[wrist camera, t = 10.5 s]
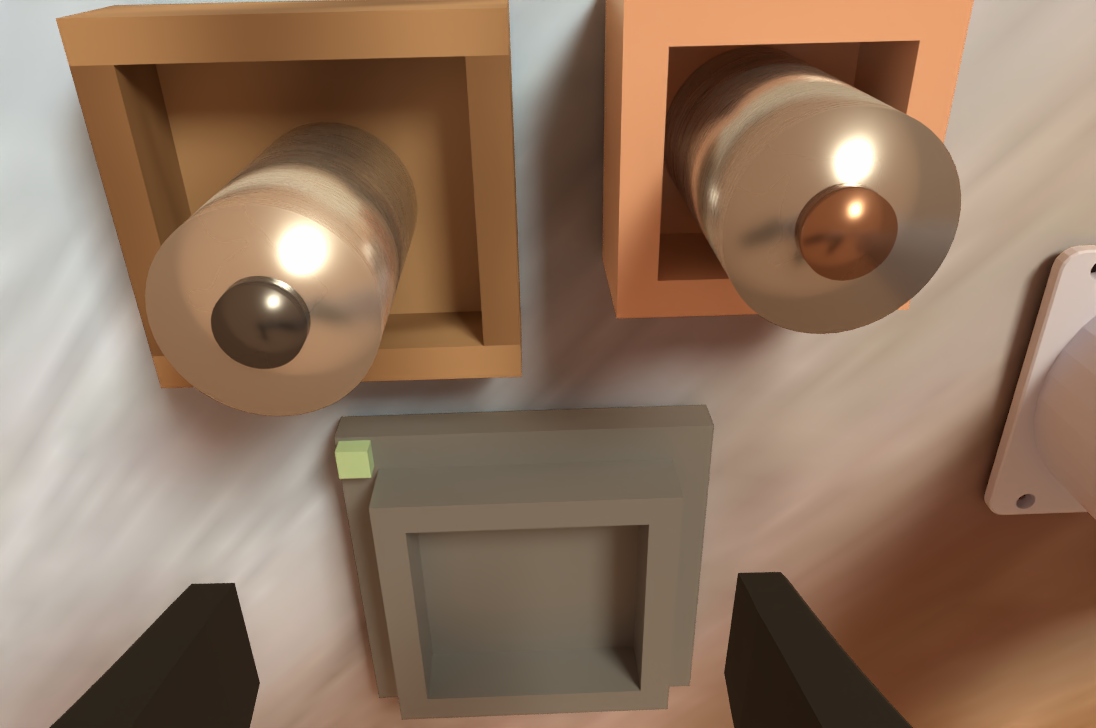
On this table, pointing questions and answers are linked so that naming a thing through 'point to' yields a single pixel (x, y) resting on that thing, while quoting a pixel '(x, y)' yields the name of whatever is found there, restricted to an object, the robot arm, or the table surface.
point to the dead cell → (810, 189)
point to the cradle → (528, 555)
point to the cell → (287, 273)
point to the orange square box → (685, 44)
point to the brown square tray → (321, 96)
